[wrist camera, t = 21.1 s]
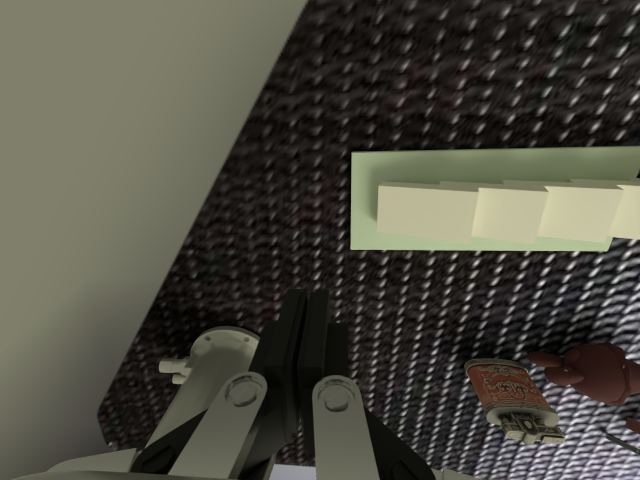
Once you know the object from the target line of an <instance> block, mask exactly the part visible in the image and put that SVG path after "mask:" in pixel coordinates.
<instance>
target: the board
mask: <svg viewBox="0 0 640 480" xmlns="http://www.w3.org/2000/svg"><path fill="white" fill-rule="evenodd" d="M639 169H640V146H603V147H556V148H509V149H462V150H414V151H367V152H352V166H351V250H517V251H608V249H609V246H610V244H611V241H612V238H613V237H609V236H607V239H606V241H605V243H602V242H591V241H581V240H571V239H561V238H551V237H540V236H537V237H536V241H535V244H530V243H522V242H513V241H505V240H496V239H488V238H479V237H471V239H470V244H469V243H461V242H453V241H445V240H437V239H429V238H421V237H413V236H406V235H398V234H390V233H382V232H377V213H378V189H379V185H380V184H381V183H382V182H383V181H386V182H403V183H420V184H437V185H440V181H452V182H470V183H488V184H501V181H502V180H521V181H545V182H568V181H569V179H592V180H617V181H629V179H631V178H636V177H637V174H638V172H639Z"/></svg>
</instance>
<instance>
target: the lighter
mask: <svg viewBox="0 0 640 480" xmlns="http://www.w3.org/2000/svg"><path fill="white" fill-rule="evenodd" d="M464 369H465V372H466V374H467V376H468V377H470V380H471V382H472V384H473V386H474V388H475V391H476V393H477V395H478V397H479V399H480V401H481V404H482V406H483V408H484V414H485V416H486V418H487V421H488V422H490V423H492V424H497V425H501V426H502V429H503V431H504V433H505V435H506V437H507V438H513V439H520V440H521V441H522V442H524V443H525V444H528V445H532V444H533V443H534V441H542V442H547V443H558V444H562V443H564V441H565V436H564V434H563V433H562V431H561V430H560V428H558V427H553V426H555V425H556V424H557V423H558V422H559V416H558V414H557V413H556V411H555V410H554V409H553V408H551V407H550V406H549V404H548V403H547V401H546V400H545V398H544V397H543V395H542V394H541V392H540V391H539V389H538V388H537V386H536V385H535V384H534V382H533V381H532V379H531V378H530V376H529V375H528V371H527V369H526V368H525V366H524V365H523V364H522V363H519V362H514V361H510V360H503V359H472V360H469V361H467V362H466V363H465V365H464Z"/></svg>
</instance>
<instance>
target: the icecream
mask: <svg viewBox="0 0 640 480" xmlns="http://www.w3.org/2000/svg"><path fill="white" fill-rule="evenodd" d="M528 359H529V360H530V361H531V362H533V363H534V364H537V365H539V366H542V367H545V369H544V374H545V376H546V377H547V379H548V380H549V381H550V382H552V383H554V384H557V385H563V386H567V385H569V384H570V385H571V386H572V387H573V388H574V389H575V390H577V391H578V392H580V393H582V394H584V395H586V396H588V397H590V398H592V399H594V400H597V401H600V402H604V403H605V404H607V405H608V406H613V405H615V406H619V405H622V404H623V403H624V401H625V399H626V397H627V396H629V395H632V394H637V393H640V365H639V364H637V363H635V362H633V361H630V360H628V359H626V358H625V353H624V351H623V349H622V348H620V347H616V346H613V345H612V344H611V343H598V344H585V343H584V344H581V345H578V346H575V347H573V348H572V349H571V350H569V351H567V352H566V353H565V355H564V356H563V358H562V357H559V356H556V355H553V354H548V353H544V352H535V351H532V352H529V353H528Z"/></svg>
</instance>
